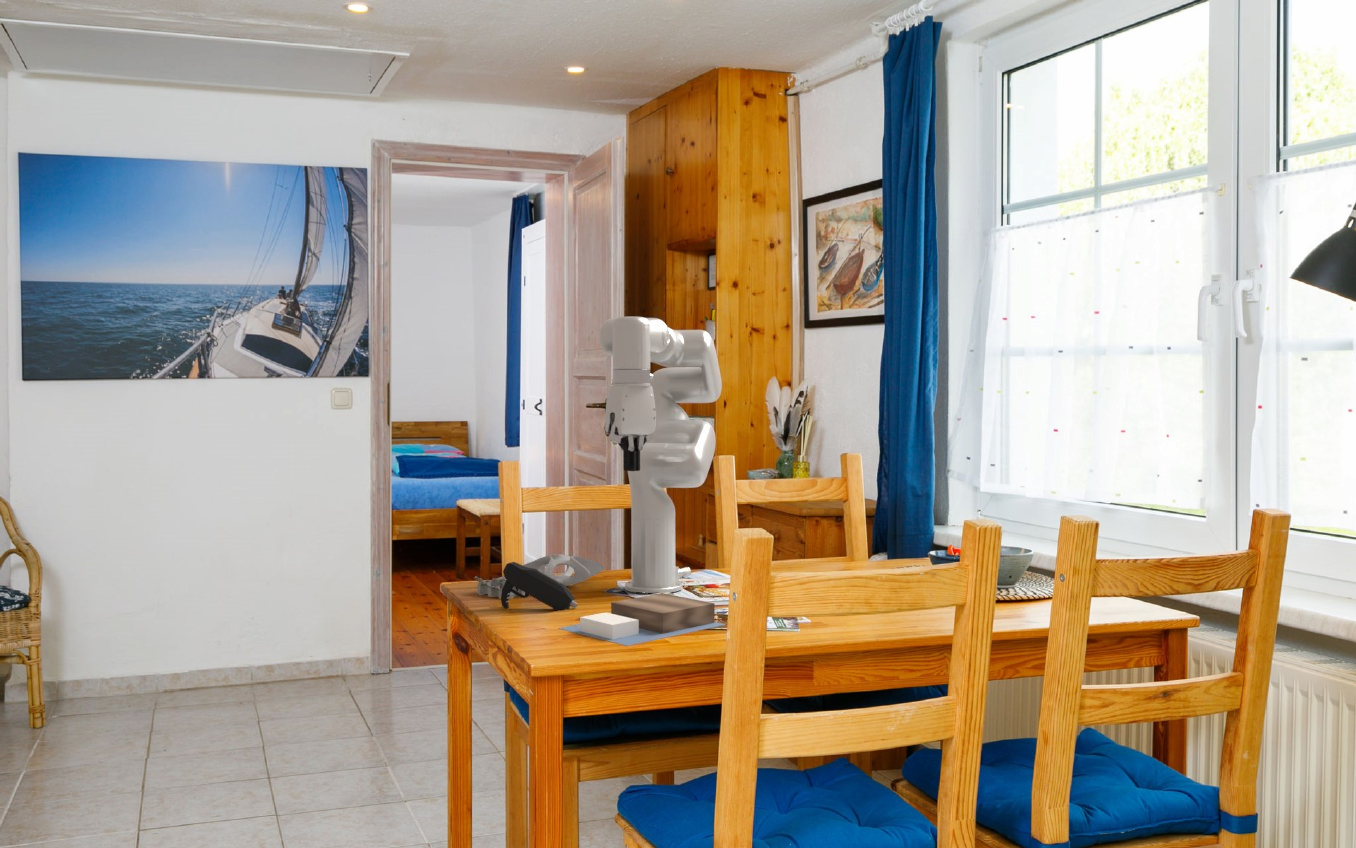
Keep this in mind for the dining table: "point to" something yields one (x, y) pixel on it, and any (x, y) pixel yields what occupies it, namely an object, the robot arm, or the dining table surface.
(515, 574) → the gun
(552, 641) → the dining table surface
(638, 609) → the block
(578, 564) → the sculpture
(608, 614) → the tile
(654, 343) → the robot arm
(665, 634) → the placemat
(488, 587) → the grey castle ruin model
